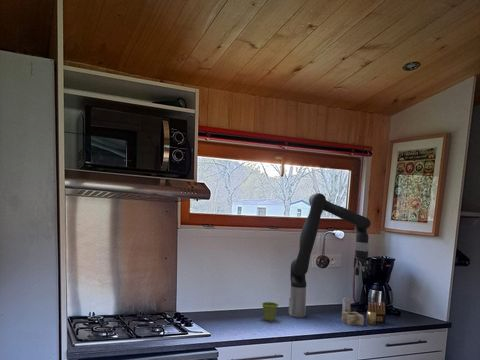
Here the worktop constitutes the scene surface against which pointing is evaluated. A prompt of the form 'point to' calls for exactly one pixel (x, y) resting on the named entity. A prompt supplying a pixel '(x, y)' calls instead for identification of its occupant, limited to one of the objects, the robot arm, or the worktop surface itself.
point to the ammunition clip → (378, 312)
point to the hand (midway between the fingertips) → (360, 276)
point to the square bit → (346, 305)
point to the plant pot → (269, 310)
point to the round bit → (371, 318)
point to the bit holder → (352, 318)
